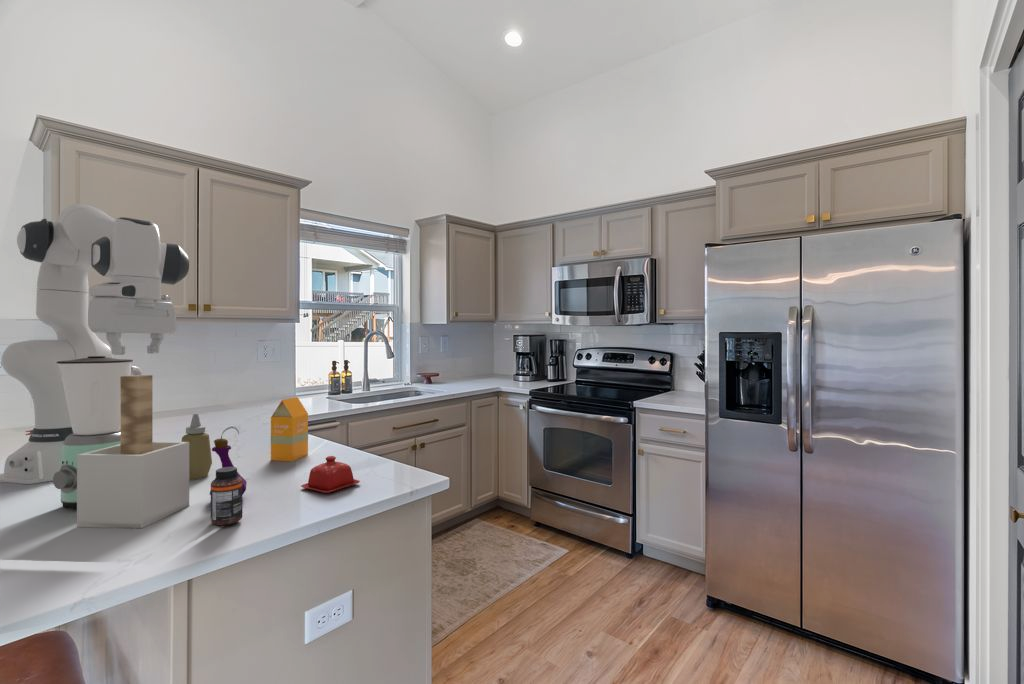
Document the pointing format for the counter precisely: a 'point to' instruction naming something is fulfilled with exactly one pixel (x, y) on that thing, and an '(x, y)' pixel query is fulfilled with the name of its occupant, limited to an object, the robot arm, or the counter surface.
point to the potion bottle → (226, 455)
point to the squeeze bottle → (198, 449)
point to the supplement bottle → (226, 497)
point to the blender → (90, 413)
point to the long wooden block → (136, 414)
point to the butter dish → (330, 476)
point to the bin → (132, 485)
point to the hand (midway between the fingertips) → (136, 354)
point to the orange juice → (289, 431)
